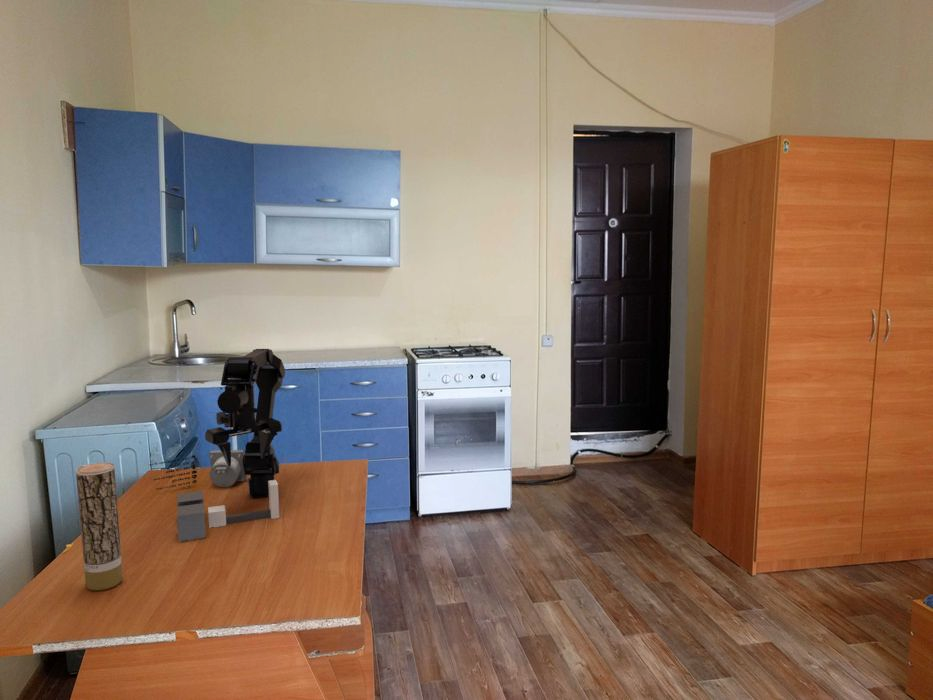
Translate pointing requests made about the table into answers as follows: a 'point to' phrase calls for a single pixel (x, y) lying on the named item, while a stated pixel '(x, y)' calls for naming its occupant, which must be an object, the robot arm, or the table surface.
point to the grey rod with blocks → (220, 519)
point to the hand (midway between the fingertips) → (246, 462)
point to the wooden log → (99, 525)
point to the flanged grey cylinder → (217, 469)
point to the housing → (190, 516)
